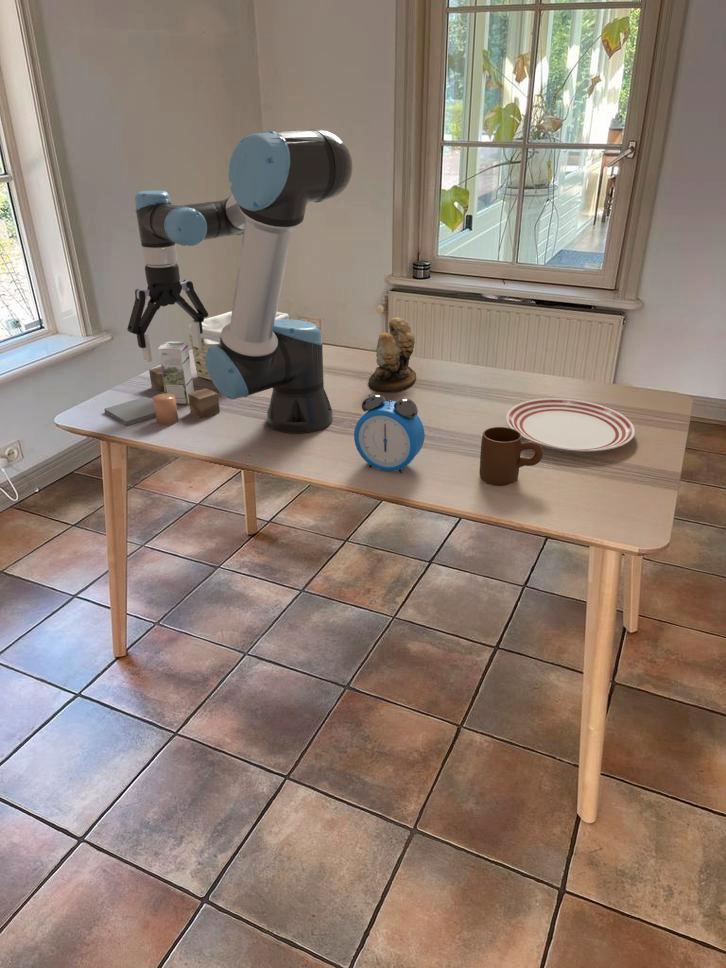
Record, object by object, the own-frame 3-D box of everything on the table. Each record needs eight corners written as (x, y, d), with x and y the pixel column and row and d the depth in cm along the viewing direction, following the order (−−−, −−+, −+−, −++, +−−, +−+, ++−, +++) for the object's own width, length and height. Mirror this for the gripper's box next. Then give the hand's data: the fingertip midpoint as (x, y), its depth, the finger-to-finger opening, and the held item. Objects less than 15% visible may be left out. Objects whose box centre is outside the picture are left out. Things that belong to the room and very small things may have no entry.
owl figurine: (381, 368, 201) (381, 306, 192) (422, 372, 197) (425, 309, 189) (361, 390, 185) (360, 324, 177) (405, 395, 182) (407, 328, 174)
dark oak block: (178, 387, 189) (176, 369, 187) (161, 392, 186) (158, 374, 184) (168, 383, 192) (166, 365, 190) (151, 387, 189) (148, 369, 187)
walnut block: (220, 413, 174) (217, 393, 172) (202, 419, 171) (199, 399, 169) (208, 407, 177) (205, 388, 175) (190, 413, 174) (187, 393, 172)
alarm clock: (353, 466, 148) (352, 398, 141) (365, 454, 153) (364, 387, 146) (414, 478, 143) (415, 407, 136) (424, 464, 148) (426, 396, 141)
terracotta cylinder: (182, 421, 170) (179, 397, 167) (163, 427, 167) (159, 403, 164) (171, 415, 173) (168, 391, 170) (152, 421, 170) (148, 397, 167)
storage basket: (252, 354, 212) (248, 304, 205) (294, 364, 204) (291, 312, 197) (190, 378, 195) (183, 324, 188) (234, 390, 187) (228, 334, 180)
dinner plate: (645, 424, 165) (647, 411, 163) (615, 473, 144) (618, 458, 143) (528, 402, 177) (530, 389, 176) (485, 444, 157) (487, 430, 155)
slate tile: (169, 412, 175) (168, 408, 174) (127, 425, 168) (126, 421, 167) (146, 400, 182) (145, 396, 181) (105, 412, 175) (104, 408, 174)
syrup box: (195, 396, 183) (188, 340, 176) (188, 405, 178) (180, 348, 171) (173, 396, 184) (165, 340, 177) (165, 404, 179) (157, 347, 172)
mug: (545, 479, 142) (550, 435, 137) (532, 496, 136) (537, 450, 132) (487, 466, 147) (490, 423, 143) (473, 481, 141) (475, 437, 137)
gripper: (199, 253, 175) (208, 338, 185) (102, 270, 160) (118, 362, 170) (216, 258, 170) (225, 345, 181) (118, 275, 155) (133, 370, 166)
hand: (173, 353), depth 176 cm, fingers open, 13 cm apart
